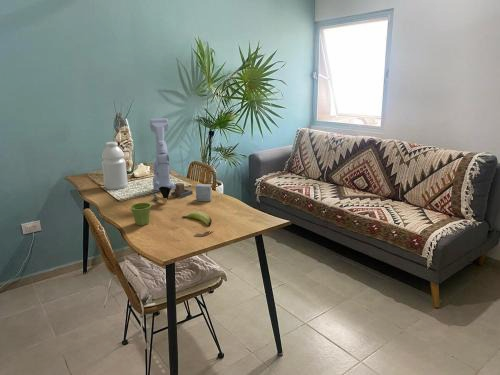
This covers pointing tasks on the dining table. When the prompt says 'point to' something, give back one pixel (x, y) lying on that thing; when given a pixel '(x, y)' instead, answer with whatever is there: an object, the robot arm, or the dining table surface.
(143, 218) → the plant pot
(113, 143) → the bottle
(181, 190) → the plug
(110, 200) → the dining table surface
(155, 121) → the robot arm
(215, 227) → the dining table surface
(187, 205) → the dining table surface
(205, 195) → the medicine box
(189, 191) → the cradle
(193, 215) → the green banana
